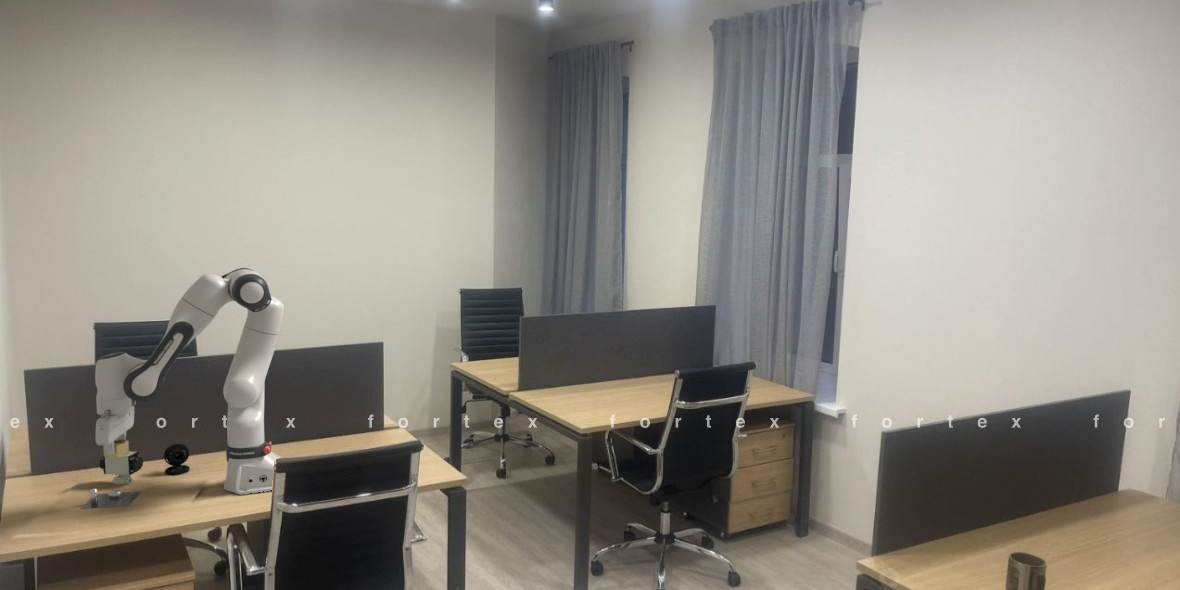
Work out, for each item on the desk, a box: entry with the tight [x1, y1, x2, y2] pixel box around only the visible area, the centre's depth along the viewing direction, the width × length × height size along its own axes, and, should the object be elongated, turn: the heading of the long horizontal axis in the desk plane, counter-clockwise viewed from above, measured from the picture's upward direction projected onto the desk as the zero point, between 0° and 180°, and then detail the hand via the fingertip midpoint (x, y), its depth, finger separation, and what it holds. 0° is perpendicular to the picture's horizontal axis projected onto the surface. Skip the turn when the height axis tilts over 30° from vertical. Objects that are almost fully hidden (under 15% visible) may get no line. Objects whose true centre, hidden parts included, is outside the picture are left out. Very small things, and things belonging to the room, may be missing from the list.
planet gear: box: [102, 438, 130, 458], centre depth 228 cm, size 6×6×4 cm
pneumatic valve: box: [99, 450, 144, 486], centre depth 246 cm, size 6×12×12 cm, turn 89°
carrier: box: [79, 487, 142, 510], centre depth 231 cm, size 13×12×5 cm
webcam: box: [163, 443, 190, 476], centre depth 259 cm, size 8×8×10 cm
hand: (116, 450), depth 228 cm, fingers closed on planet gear, 6 cm apart
